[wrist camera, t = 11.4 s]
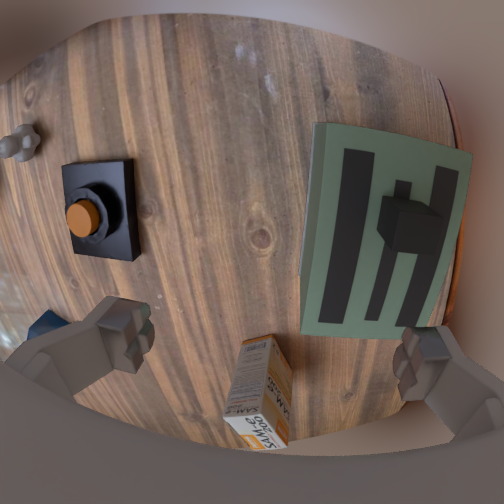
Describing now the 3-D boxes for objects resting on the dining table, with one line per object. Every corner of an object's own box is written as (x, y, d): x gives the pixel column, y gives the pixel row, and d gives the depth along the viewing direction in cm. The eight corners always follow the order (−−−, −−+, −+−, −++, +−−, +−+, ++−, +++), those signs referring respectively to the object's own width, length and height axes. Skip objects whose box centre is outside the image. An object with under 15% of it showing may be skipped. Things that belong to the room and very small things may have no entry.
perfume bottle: (50, 330, 46) (17, 367, 35) (48, 309, 43) (10, 347, 32) (73, 346, 46) (41, 386, 35) (72, 325, 43) (35, 367, 33)
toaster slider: (382, 194, 17) (400, 210, 14) (421, 201, 17) (445, 217, 13) (376, 229, 18) (391, 251, 15) (414, 235, 18) (435, 256, 14)
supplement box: (295, 371, 39) (290, 448, 27) (264, 378, 41) (252, 452, 29) (273, 331, 37) (262, 414, 25) (240, 340, 38) (219, 419, 26)
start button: (73, 199, 29) (64, 203, 27) (97, 199, 28) (88, 204, 27) (78, 231, 30) (69, 236, 29) (102, 233, 30) (93, 238, 28)
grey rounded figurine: (22, 126, 29) (-17, 134, 22) (48, 118, 28) (5, 124, 21) (24, 160, 31) (-15, 173, 24) (49, 156, 31) (7, 168, 23)
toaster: (312, 122, 26) (323, 118, 16) (418, 140, 24) (476, 152, 14) (298, 272, 33) (297, 337, 23) (391, 280, 31) (421, 342, 21)
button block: (72, 162, 31) (51, 168, 27) (133, 158, 30) (114, 163, 26) (83, 247, 36) (66, 259, 32) (141, 254, 35) (126, 268, 31)
